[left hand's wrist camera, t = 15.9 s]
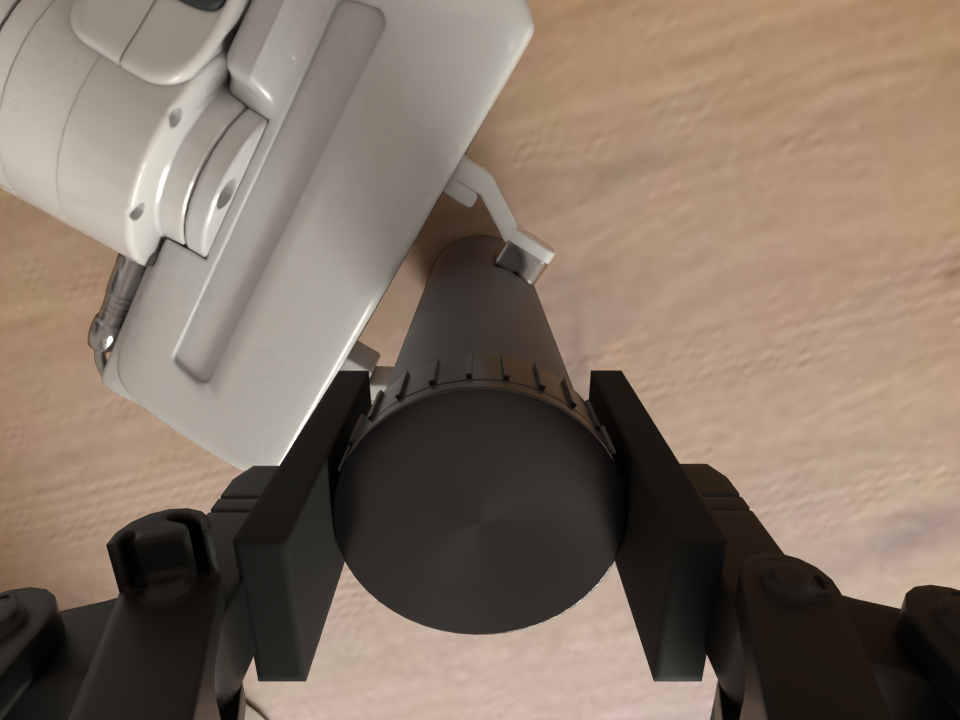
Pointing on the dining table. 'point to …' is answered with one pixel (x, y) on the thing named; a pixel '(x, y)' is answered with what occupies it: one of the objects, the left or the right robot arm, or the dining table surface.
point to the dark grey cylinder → (477, 313)
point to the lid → (479, 496)
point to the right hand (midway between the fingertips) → (499, 333)
